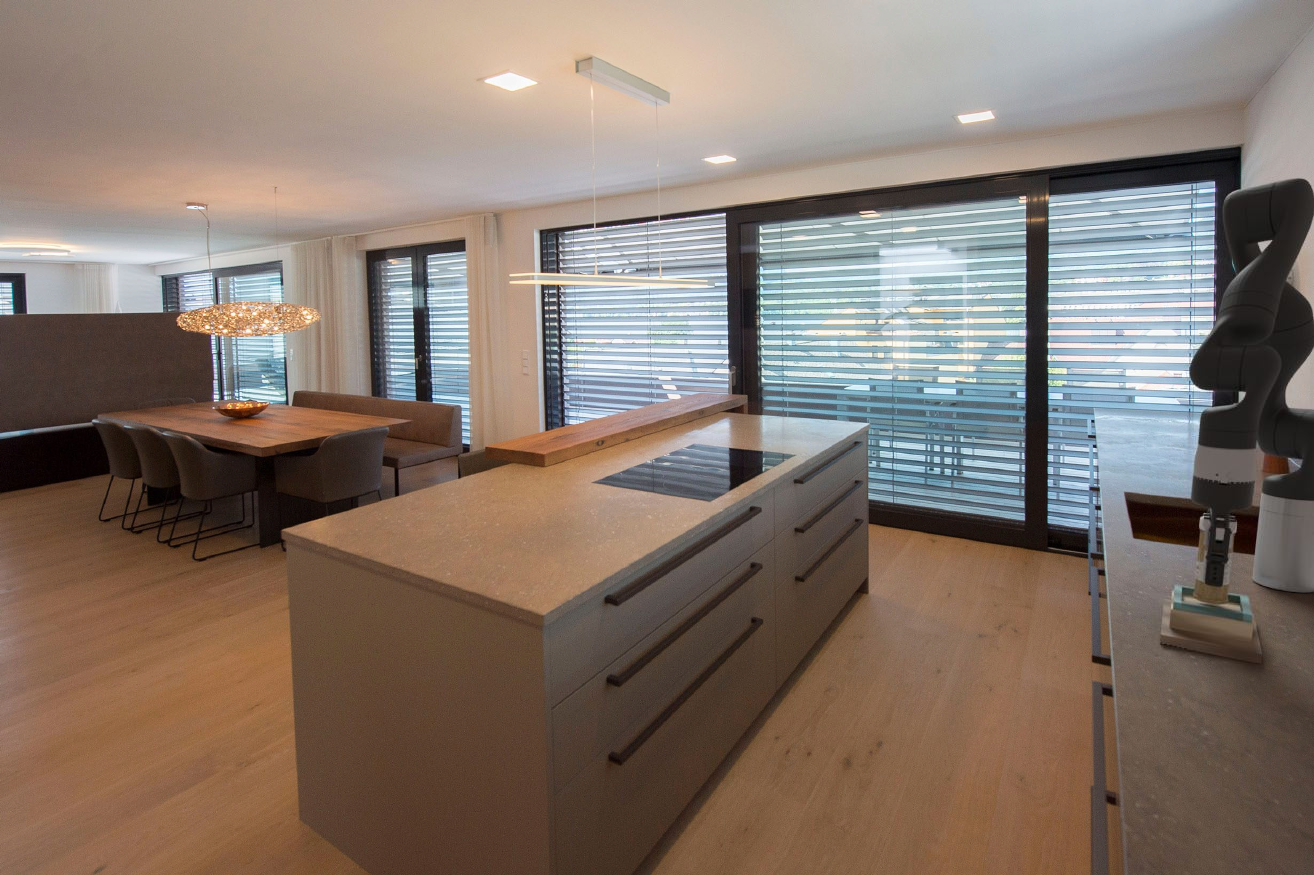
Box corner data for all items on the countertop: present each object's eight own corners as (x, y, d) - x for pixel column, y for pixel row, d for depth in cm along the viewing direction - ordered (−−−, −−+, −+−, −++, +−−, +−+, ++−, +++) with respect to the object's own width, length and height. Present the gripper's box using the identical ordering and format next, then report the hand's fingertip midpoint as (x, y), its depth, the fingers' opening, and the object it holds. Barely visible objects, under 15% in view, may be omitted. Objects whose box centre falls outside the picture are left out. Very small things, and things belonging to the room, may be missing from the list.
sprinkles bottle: (1194, 593, 115) (1202, 513, 113) (1230, 599, 112) (1238, 517, 110) (1190, 601, 112) (1198, 518, 110) (1227, 608, 109) (1236, 523, 107)
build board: (1163, 606, 124) (1166, 575, 123) (1252, 622, 116) (1256, 589, 116) (1159, 643, 109) (1163, 608, 109) (1261, 664, 102) (1265, 626, 101)
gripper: (1193, 465, 117) (1183, 564, 120) (1193, 480, 106) (1183, 589, 108) (1251, 469, 113) (1241, 572, 115) (1258, 486, 101) (1246, 600, 104)
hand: (1213, 580), depth 112 cm, fingers closed on sprinkles bottle, 4 cm apart
